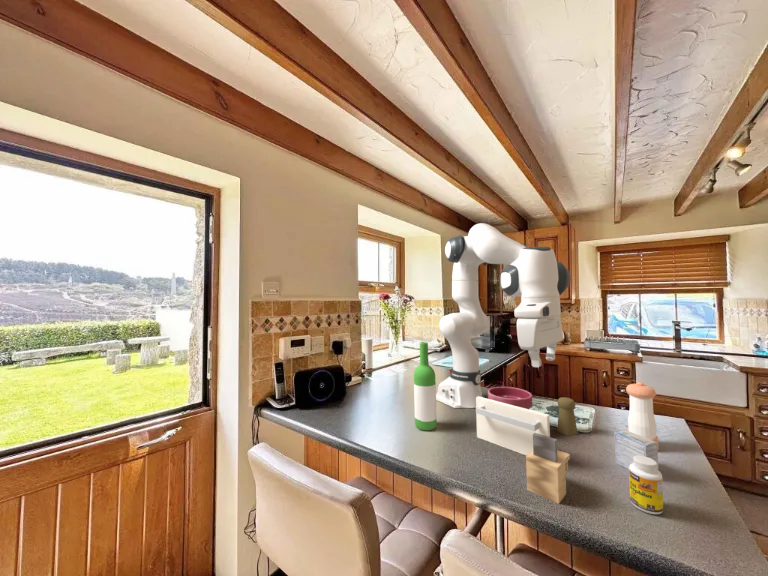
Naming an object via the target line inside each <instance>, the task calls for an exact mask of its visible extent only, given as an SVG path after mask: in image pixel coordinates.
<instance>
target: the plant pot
mask: <svg viewBox="0 0 768 576" xmlns="http://www.w3.org/2000/svg"><path fill="white" fill-rule="evenodd" d="M487 399H491V400H494V401H498V402H502V403H506V404H510V405H514V406H518V407H521V408H525V409H529V410H530V409H531V408H532V407H533V394H532V393H531V392H529V391H528V390H525V389H522V388H518V387H512V386H494V387H491V388H489V389H488V390H487Z"/></svg>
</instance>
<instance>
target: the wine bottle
mask: <svg viewBox="0 0 768 576" xmlns="http://www.w3.org/2000/svg"><path fill="white" fill-rule="evenodd" d="M436 383H437V382H436V372H435V370H434V369H433V367H432V366H430V364H429V343H428V342H426V341H420V342H419V365H418V366H417V367H416V368H415V370H414V372H413V393H414V394H413V396H414V397H413V400H414V403H413V404H414V425H415V427H416V428H417V429H418V430H421V431H432V430H434V429H435V428H437V424H438V423H437V418H438V417H437V400H436V393H437V390H436V389H437V388H436V387H437V384H436Z"/></svg>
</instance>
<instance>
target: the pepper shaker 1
mask: <svg viewBox="0 0 768 576" xmlns="http://www.w3.org/2000/svg"><path fill="white" fill-rule="evenodd" d="M575 402H576V401H575V400H574V399H572V398H570V397H565V396H564V397H562V396H561V397H559V398H558V399H557V405H558V407H559V410H558V416H557V417H558V418H557V426H556V427H557V428H556V429H557V432H559V433H561V434H564V435H567V436H577V435H578V433H579V432H578V428H577V420H576V415H575V408H576V403H575Z"/></svg>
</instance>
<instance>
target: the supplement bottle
mask: <svg viewBox="0 0 768 576" xmlns="http://www.w3.org/2000/svg"><path fill="white" fill-rule="evenodd" d="M628 472H629V473H628V474H629V475H628V479H629V481H628V482H629V500H630V503H631V504H632V505H633V506H634V507H635V508H636V509H638V510H639V511H642V512H643V513H646V514H650V515H660V514H662V513H663V512H664V488H663V484H664V483H663V475H662V473H661V471H658V470H657V463H656V461H654V460H653V459H651V458H648V457H645V456H634V457H633V463H632V464H630V466H629V470H628Z"/></svg>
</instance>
